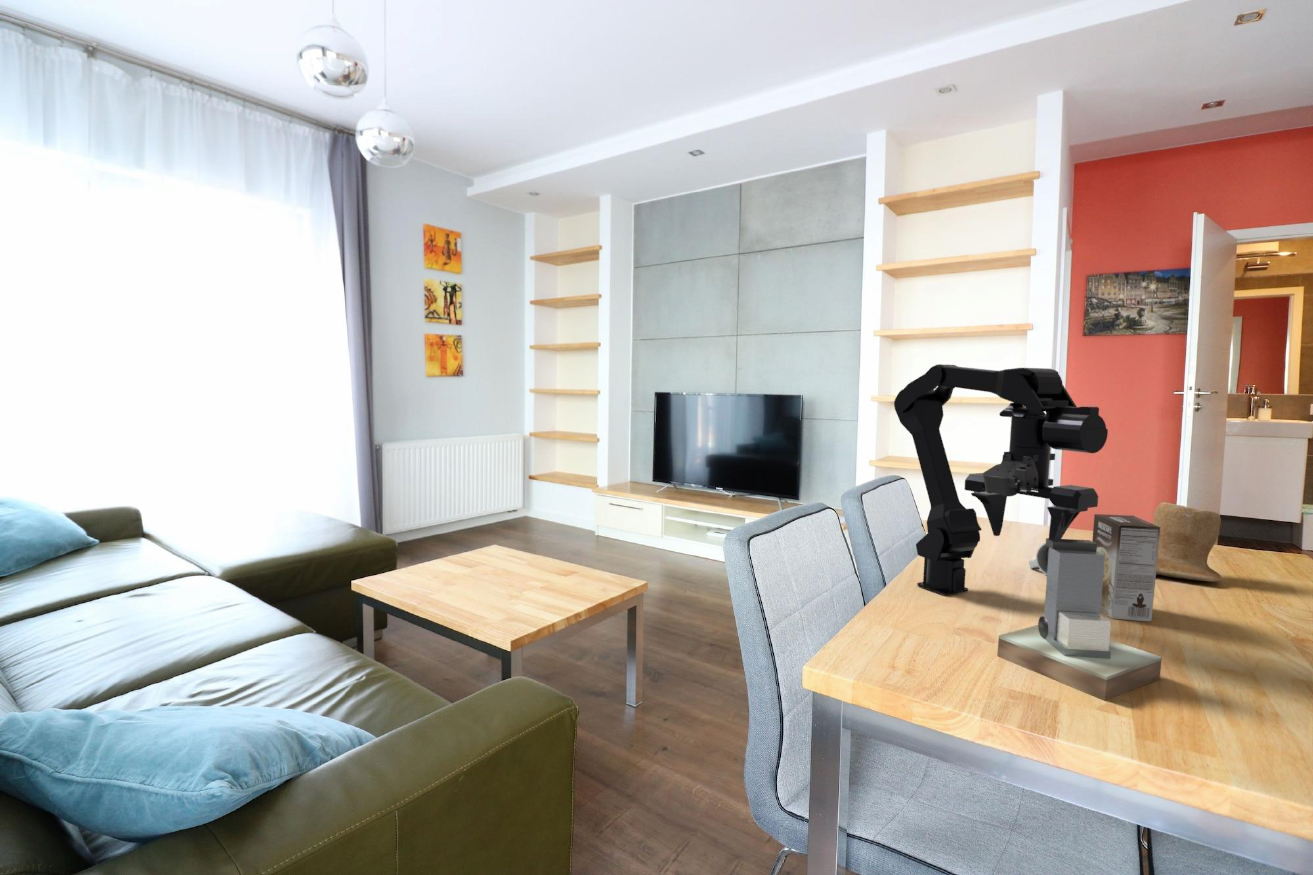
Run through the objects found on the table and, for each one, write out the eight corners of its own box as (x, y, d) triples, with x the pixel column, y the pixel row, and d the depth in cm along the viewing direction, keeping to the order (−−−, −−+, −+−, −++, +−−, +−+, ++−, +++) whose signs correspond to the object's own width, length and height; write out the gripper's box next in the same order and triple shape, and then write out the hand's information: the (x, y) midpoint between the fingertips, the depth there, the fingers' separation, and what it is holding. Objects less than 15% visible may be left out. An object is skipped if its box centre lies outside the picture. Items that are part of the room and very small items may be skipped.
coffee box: (1085, 600, 114) (1092, 512, 112) (1125, 603, 113) (1132, 515, 111) (1110, 619, 105) (1118, 524, 103) (1154, 622, 104) (1163, 526, 102)
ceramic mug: (1095, 578, 127) (1097, 540, 127) (1073, 584, 123) (1075, 545, 123) (1041, 565, 137) (1043, 530, 136) (1019, 570, 132) (1021, 534, 132)
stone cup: (1219, 576, 130) (1226, 504, 129) (1221, 590, 121) (1228, 513, 120) (1128, 561, 140) (1133, 495, 139) (1123, 573, 131) (1129, 502, 130)
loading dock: (997, 655, 90) (998, 635, 90) (1052, 639, 96) (1053, 620, 96) (1104, 700, 77) (1106, 676, 77) (1159, 678, 83) (1161, 657, 83)
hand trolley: (1037, 633, 90) (1044, 537, 89) (1079, 636, 90) (1087, 539, 89) (1064, 655, 83) (1072, 551, 82) (1110, 658, 82) (1119, 553, 81)
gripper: (945, 442, 106) (940, 534, 107) (1059, 454, 89) (1052, 562, 91) (988, 440, 111) (982, 528, 112) (1103, 452, 95) (1095, 554, 96)
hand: (1023, 542), depth 103 cm, fingers open, 9 cm apart
